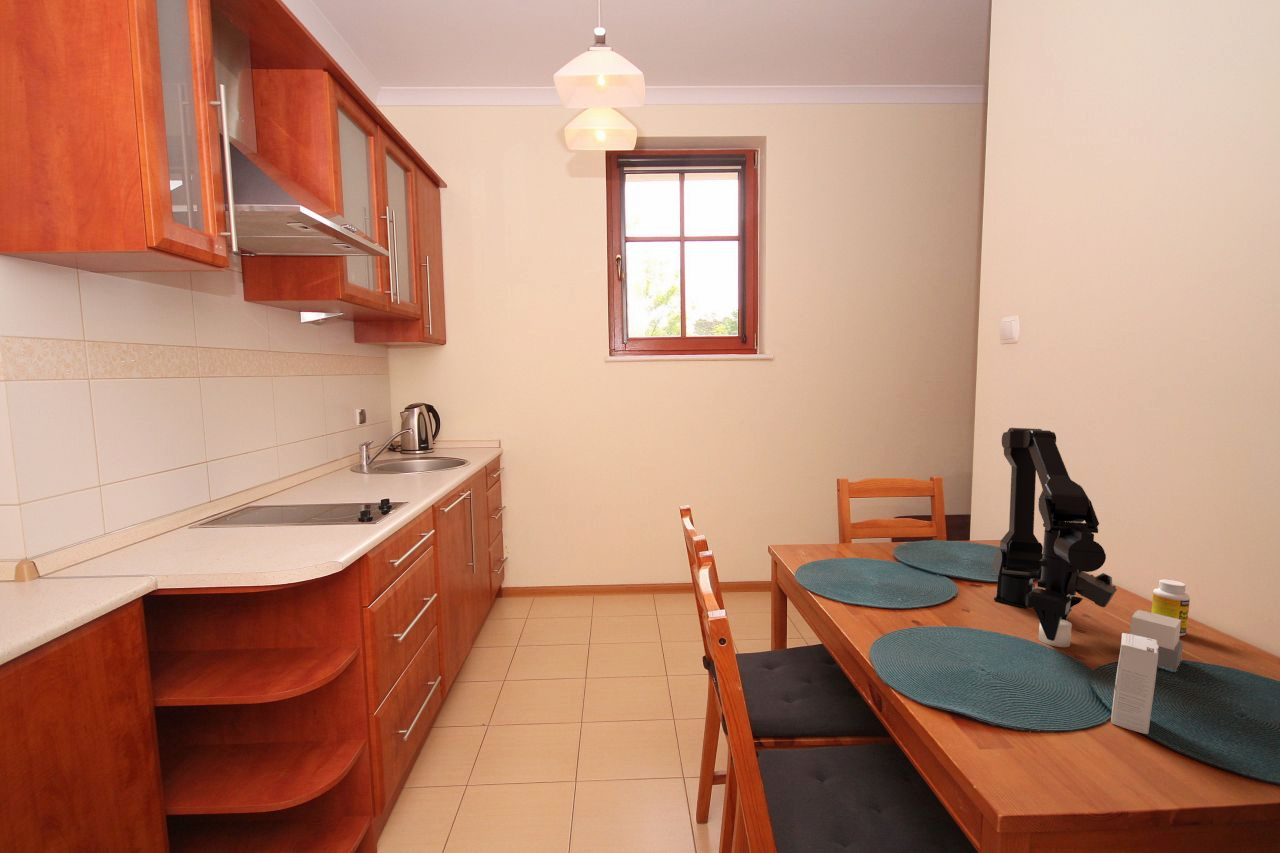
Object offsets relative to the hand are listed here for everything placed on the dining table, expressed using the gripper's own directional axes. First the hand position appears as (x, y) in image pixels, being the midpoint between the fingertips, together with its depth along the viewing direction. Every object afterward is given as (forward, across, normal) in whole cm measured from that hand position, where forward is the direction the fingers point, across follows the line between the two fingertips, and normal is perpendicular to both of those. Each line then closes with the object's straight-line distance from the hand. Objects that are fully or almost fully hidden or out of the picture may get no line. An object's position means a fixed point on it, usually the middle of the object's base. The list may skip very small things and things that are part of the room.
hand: (1054, 636), depth 115 cm
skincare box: (+1, -25, -15) cm, 29 cm away
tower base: (+1, +5, -14) cm, 15 cm away
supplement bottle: (+1, +25, -14) cm, 29 cm away
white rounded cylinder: (+1, 0, 0) cm, 1 cm away
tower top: (-3, +5, -14) cm, 15 cm away
